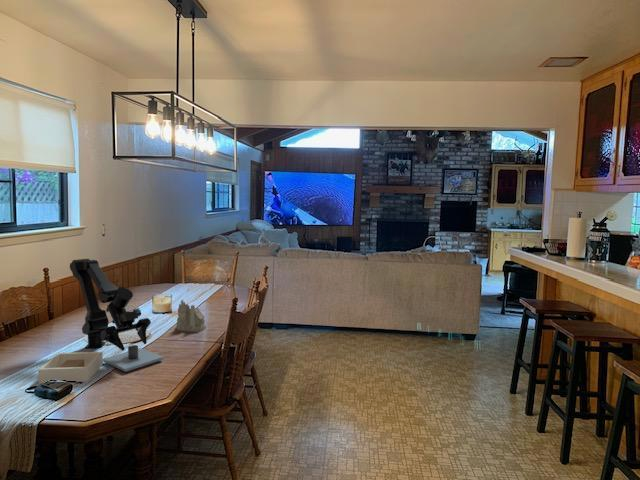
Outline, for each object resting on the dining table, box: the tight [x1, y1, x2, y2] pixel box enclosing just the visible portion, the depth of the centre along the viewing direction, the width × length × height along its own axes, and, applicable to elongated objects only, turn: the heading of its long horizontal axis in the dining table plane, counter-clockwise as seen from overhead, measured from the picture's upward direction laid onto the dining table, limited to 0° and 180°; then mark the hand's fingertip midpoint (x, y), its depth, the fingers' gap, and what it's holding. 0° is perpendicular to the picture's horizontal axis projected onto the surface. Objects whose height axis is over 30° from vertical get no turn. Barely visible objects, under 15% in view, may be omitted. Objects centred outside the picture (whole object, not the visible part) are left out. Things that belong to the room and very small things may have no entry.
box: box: [37, 351, 104, 384], centre depth 163 cm, size 16×16×5 cm
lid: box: [103, 344, 164, 372], centre depth 174 cm, size 16×16×6 cm
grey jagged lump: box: [175, 299, 207, 333], centre depth 222 cm, size 16×16×15 cm
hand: (135, 346), depth 173 cm, fingers open, 9 cm apart
